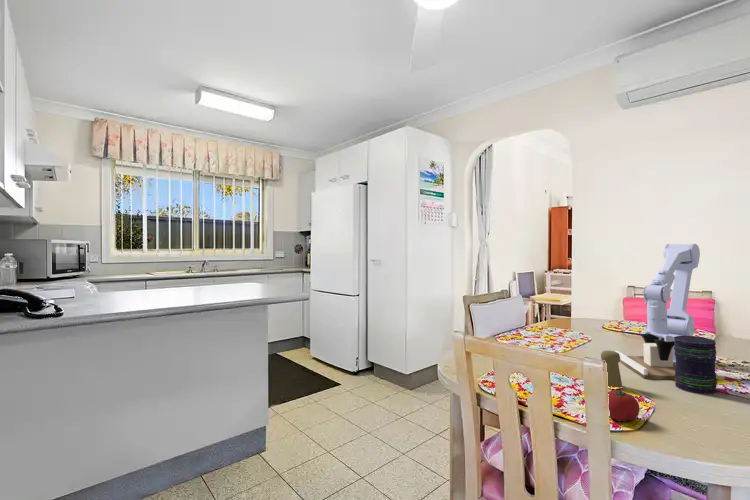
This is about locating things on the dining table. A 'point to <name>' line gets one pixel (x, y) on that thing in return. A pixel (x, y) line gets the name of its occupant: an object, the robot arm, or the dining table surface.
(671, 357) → the carton
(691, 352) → the dark blue cylinder
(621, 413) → the tomato
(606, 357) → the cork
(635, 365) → the brown tray
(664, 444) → the dining table surface
